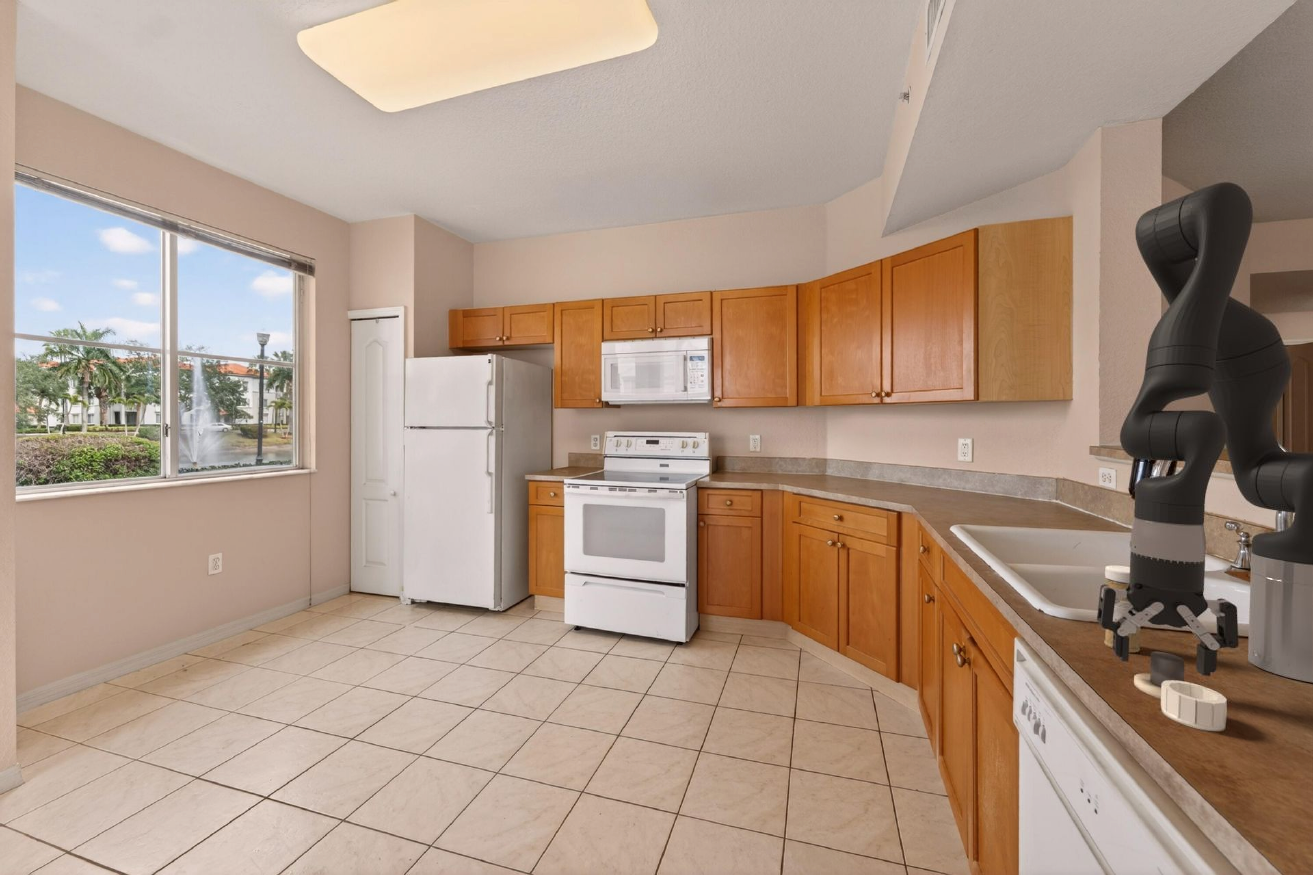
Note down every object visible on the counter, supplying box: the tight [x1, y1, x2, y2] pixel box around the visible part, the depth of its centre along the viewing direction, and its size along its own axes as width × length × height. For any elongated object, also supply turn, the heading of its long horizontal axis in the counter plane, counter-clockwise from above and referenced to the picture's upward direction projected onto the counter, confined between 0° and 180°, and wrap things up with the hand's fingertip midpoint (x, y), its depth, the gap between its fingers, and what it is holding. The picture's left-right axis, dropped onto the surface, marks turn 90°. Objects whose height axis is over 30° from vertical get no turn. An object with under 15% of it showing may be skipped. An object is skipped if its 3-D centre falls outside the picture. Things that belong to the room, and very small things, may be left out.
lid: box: [1133, 651, 1185, 700], centre depth 74 cm, size 7×7×5 cm
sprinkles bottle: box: [1103, 565, 1141, 653], centre depth 88 cm, size 5×5×13 cm
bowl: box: [1160, 680, 1228, 732], centre depth 67 cm, size 6×6×4 cm
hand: (1162, 666), depth 74 cm, fingers open, 8 cm apart
